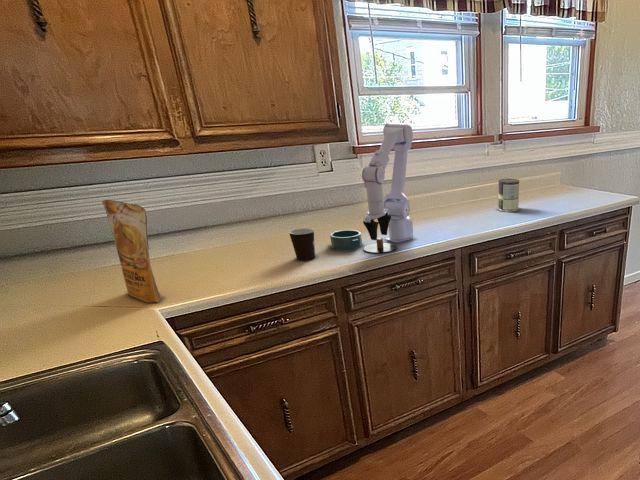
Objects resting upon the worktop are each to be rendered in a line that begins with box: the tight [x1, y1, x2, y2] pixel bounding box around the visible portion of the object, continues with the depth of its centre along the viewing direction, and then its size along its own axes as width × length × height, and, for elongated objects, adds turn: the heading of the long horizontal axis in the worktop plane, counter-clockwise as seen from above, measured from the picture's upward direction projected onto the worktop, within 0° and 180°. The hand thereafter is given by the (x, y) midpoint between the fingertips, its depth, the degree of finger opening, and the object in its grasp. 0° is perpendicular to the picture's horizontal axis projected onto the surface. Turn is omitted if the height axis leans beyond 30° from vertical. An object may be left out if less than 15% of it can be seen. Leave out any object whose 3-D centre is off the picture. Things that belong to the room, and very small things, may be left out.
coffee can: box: [497, 178, 520, 213], centre depth 257 cm, size 10×10×14 cm
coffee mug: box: [288, 227, 316, 262], centre depth 190 cm, size 12×9×10 cm
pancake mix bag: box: [101, 199, 162, 304], centre depth 152 cm, size 7×19×28 cm, turn 56°
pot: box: [329, 229, 363, 251], centre depth 202 cm, size 12×17×5 cm
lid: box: [363, 237, 398, 255], centre depth 198 cm, size 13×13×5 cm
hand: (379, 237), depth 197 cm, fingers open, 7 cm apart
